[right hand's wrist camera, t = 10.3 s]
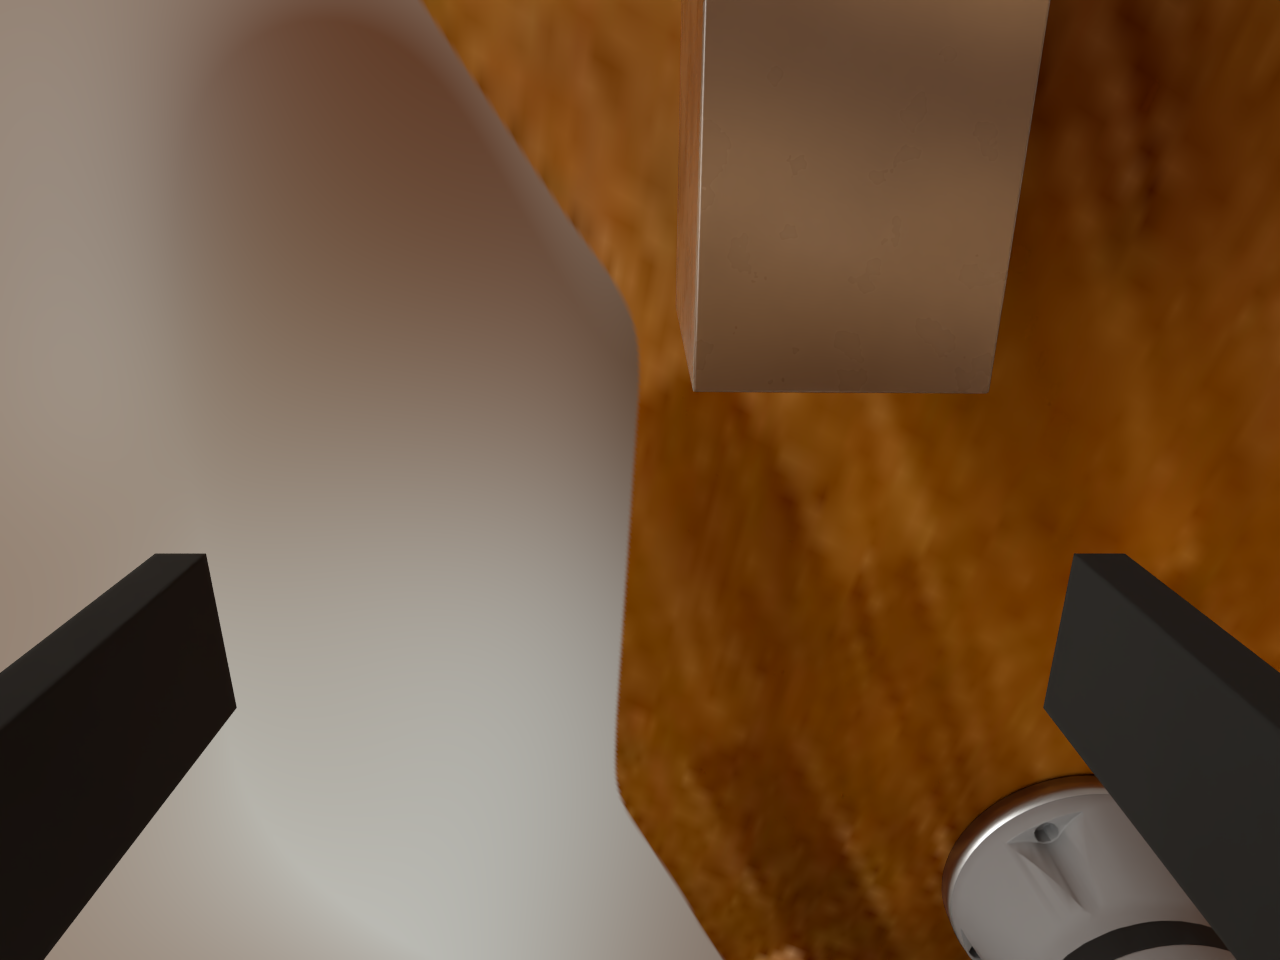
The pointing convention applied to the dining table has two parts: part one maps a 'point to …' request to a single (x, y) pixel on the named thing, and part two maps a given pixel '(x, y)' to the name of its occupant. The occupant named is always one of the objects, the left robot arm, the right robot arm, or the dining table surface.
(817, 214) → the box
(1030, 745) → the dining table surface
